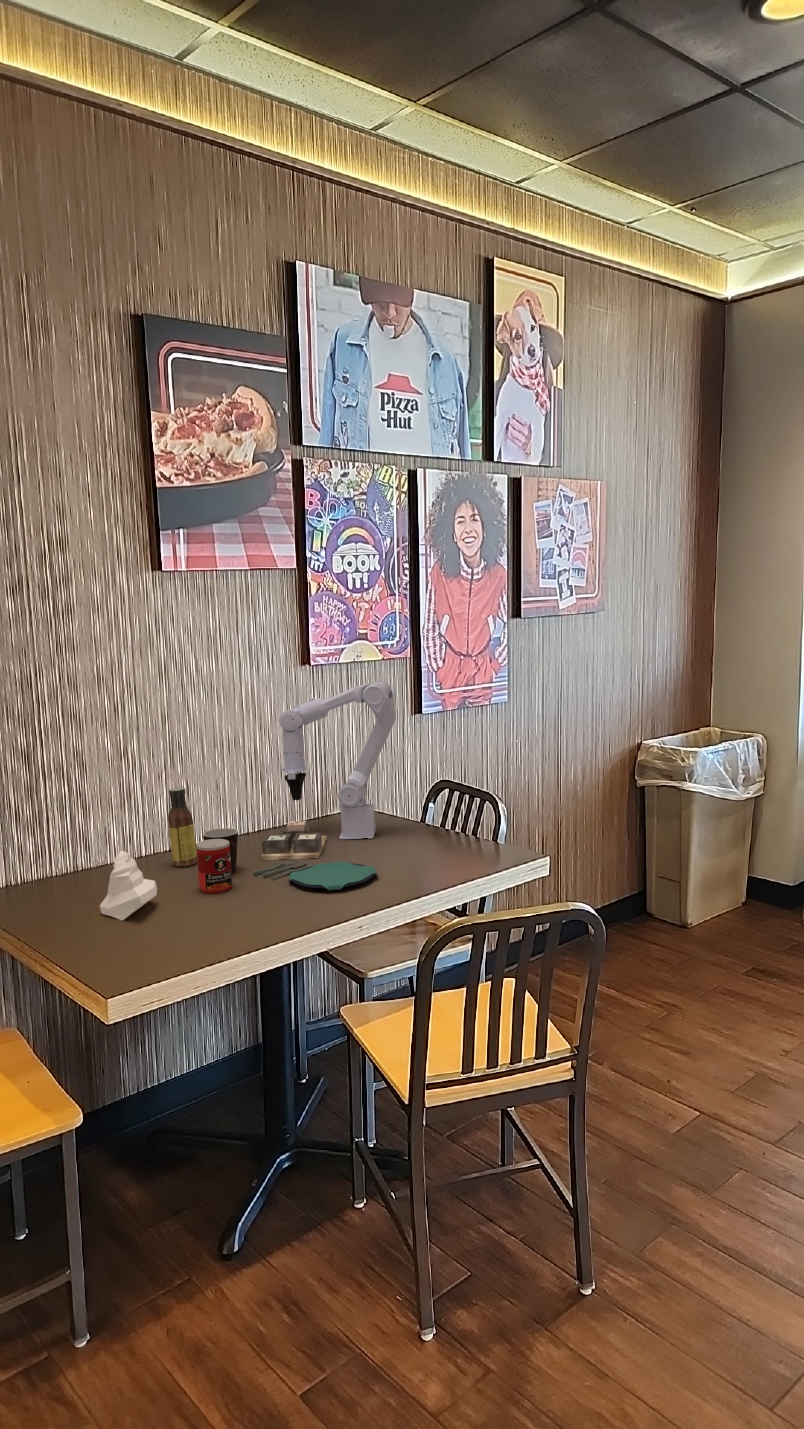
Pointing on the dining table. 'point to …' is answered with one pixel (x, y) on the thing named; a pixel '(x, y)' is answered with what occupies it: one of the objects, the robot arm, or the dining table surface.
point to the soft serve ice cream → (126, 888)
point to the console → (293, 845)
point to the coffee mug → (227, 835)
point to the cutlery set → (324, 874)
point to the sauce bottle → (181, 830)
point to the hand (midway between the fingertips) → (296, 799)
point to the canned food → (214, 865)
